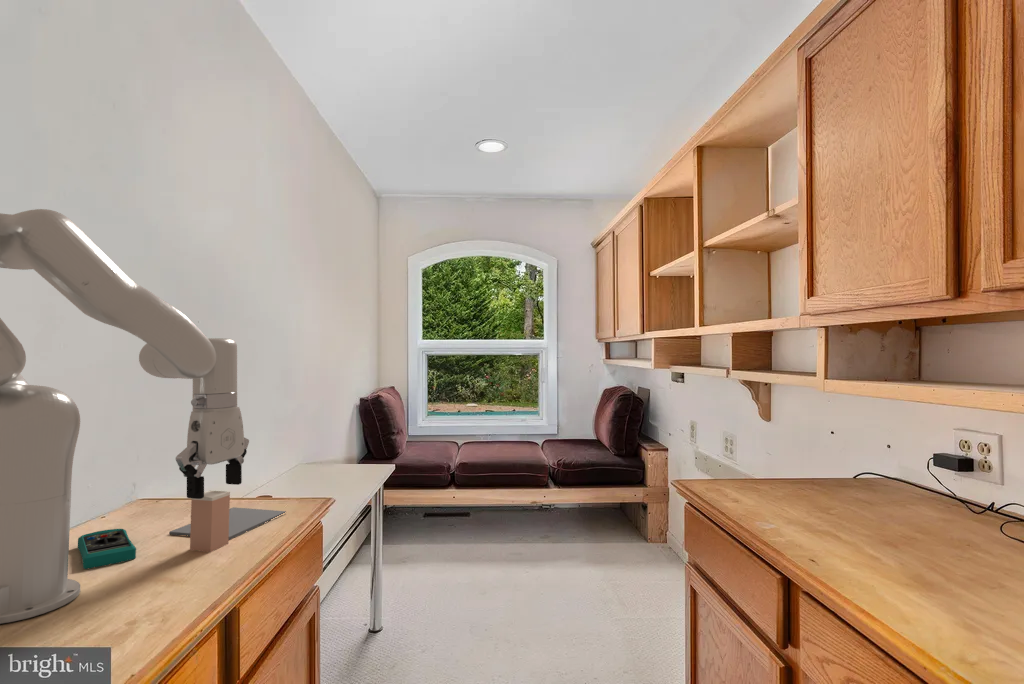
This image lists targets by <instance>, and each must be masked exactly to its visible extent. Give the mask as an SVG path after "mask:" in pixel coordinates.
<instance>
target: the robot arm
mask: <svg viewBox="0 0 1024 684" xmlns="http://www.w3.org/2000/svg"><path fill="white" fill-rule="evenodd" d="M0 269H9V270H21V271H25V270H27V271H28V270H33V271H35V272H36V273H37V274H38V275H40V277H42V279H44V280H45V281H46V282H48V284H50V285H51V286H52V287H53V288H55V290H57V291H58V292H59V293H60V294H61V295H62V296H63V297H65V298H66V299H67V300H68V301H69V302H70V303H71V304H73V305H74V306H75V307H76V308H77V309H78V310H79V311H80V312H82V314H84V315H85V316H88V317H90V318H92V319H94V320H96V321H98V322H101V323H103V324H104V325H105V324H106V325H109V326H111V327H114V328H118V329H120V330H123V331H125V332H128V333H130V334H131V335H133V336H135V337H137V338H138V339H140V340H142V341H143V342H144V343H145V344H144V345H143V346H142V348H141V349H140V352H139V354H138V362H139V364H140V366H141V368H142V369H143V370H144V371H145V372H146V373H147V374H149V375H150V376H154V377H155V378H156V377H157V378H161V379H181V380H182V379H186V380H192V398H191V399H192V400H191V401H190V404H191V406H192V410H191V411H190V415H189V422H188V429H187V436H186V437H187V438H186V439H187V440H186V447H185V448H183V450H182V451H181V452H180V453H179V454H177V455H176V456H175V461H176V463H177V466H178V467H179V469H178V470H179V471H180V473H182V474H183V477H184V478H186V498H187V499H192V498H194V499H201V498H203V497H204V492H205V476H204V475H203V473H204V471H205V469H206V467H207V466H208V465H216V464H220V463H224V462H227V463H225V484H226V485H241V484H242V482H243V481H242V480H243V479H242V471H243V470H242V467H243V465H242V464H244V461H245V456H246V455H247V449H248V446H249V443H250V440H249V439H248V438H247V437H245V435H244V433H245V432H244V424H243V423H244V422H243V417H242V411H241V408H240V406H238V345H237V342H236V341H235V340H233V339H231V338H216V337H215V338H213V337H212V338H210V337H209V338H208V337H207V335H205V334H204V333H203V331H202V330H201V329H200V328H199V327H198V325H197V326H196V324H195V323H194V322H193V321H192V320H190V319H189V318H188V317H187V316H186V315H185V314H184V313H183V312H181V311H180V310H179V309H178V308H176V307H174V305H172V304H170V303H168V302H167V301H165V300H164V299H162V298H160V297H159V296H158V295H156V294H154V293H153V292H152V291H150V290H148V289H146V288H145V287H143V286H141V285H139V284H138V283H136V282H135V281H134V280H133V279H132V278H131V277H130V276H129V275H127V274H126V272H125V271H123V270H122V268H121V267H120V266H118V264H116V263H115V261H113V259H111V258H110V256H108V255H107V254H106V253H105V252H104V251H103V250H102V249H101V248H100V247H99V246H98V245H97V244H96V243H95V242H94V241H93V240H92V239H91V238H90V237H89V236H88V235H87V234H86V233H85V232H84V230H82V229H81V228H80V227H79V226H78V225H77V224H76V223H75V222H73V221H72V220H71V219H70V218H69V217H67V216H66V215H64V214H63V213H61V212H58V211H55V210H51V209H45V208H38V209H37V208H35V209H29V210H25V211H21V212H17V213H13V214H8V213H2V212H0ZM26 361H27V356H26V351H25V348H24V346H23V344H22V343H21V341H20V340H19V339H18V338H17V336H16V335H15V334H14V333H13V332H12V330H11V329H10V328H9V327H8V325H7V324H6V323H5V322H4V320H3V319H2V318H1V317H0V625H1V624H7V623H13V622H17V621H22V620H26V619H30V618H31V619H32V618H33V617H37V616H39V615H44V614H46V613H49V612H51V611H54V610H57V609H58V608H61V607H64V606H65V605H67V604H69V603H71V602H72V601H73V600H75V599H76V598H77V597H78V596H79V595H80V593H81V583H80V582H79V581H78V580H75V579H71V578H68V577H69V576H68V574H69V555H70V554H69V552H70V550H69V549H70V546H69V545H70V530H71V529H70V527H71V526H70V525H71V509H72V508H71V503H72V502H71V501H72V478H73V463H74V456H75V451H76V445H77V442H78V437H79V434H80V430H81V429H80V428H81V414H80V410H79V408H78V405H77V404H76V402H75V401H74V400H73V399H72V398H71V396H69V395H68V394H66V393H65V392H64V391H61V390H59V389H58V388H53V387H49V386H44V385H34V384H29V383H28V382H27V381H26V379H25V378H24V377H23V375H22V374H21V373H22V372H23V370H24V368H25V366H26ZM196 466H197V467H196Z"/></svg>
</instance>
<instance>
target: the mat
mask: <svg viewBox="0 0 1024 684" xmlns="http://www.w3.org/2000/svg"><path fill="white" fill-rule="evenodd" d="M285 512H286V513H287V511H286V510H285V511H284V510H274V509H260V508H248V507H235V506H234V507H229V539H228V541H230V540H232V538H233V539H234V537H235V538H237V537H239V536H241V535H243V534H245V532H246V531H248V532H249V530H250V531H252V530H254V529H256V528H258V527H257V526H259V525H261V524H263V523H265V522H267V521H269V520H271V519H273V518H275V517H277V516H279V515H281V514H283V513H285ZM267 523H268V522H267ZM265 524H266V523H265ZM263 525H264V524H263ZM261 526H262V525H261ZM255 527H256V528H255ZM259 527H260V526H259ZM253 528H254V529H253ZM251 529H252V530H251ZM190 531H191V523H188V524H186V525H184V526H183V525H182V526H181V527H178V528H176V529H175V528H174V529H171V530H170V531H169V534H172V535H171V536H179V535H186V536H185V537H190ZM246 533H247V532H246ZM187 535H188V536H187Z"/></svg>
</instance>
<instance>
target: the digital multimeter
mask: <svg viewBox="0 0 1024 684" xmlns="http://www.w3.org/2000/svg"><path fill="white" fill-rule="evenodd" d="M77 549H78V551H79V553H80V556H81V558H82V559H81V561H82V569H84V570H87V569H88V568H89V569H93V568H94V567H95V568H99V567H105V565H106V566H109V564H111V565H115V564H120V563H124V562H128V561H132V560H134V559H136V558H137V548H136V546H135V545H134V543H132V541H131V539H130V538H129V536H128V533H127V530H126V529H124V528H113V529H111V528H110V529H104V530H99V531H97V530H96V531H93V532H90V533H86V534H85V533H84V534H82V535H81V536H79V537H78V539H77ZM119 562H120V563H119ZM89 569H88V570H89Z"/></svg>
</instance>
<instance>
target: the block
mask: <svg viewBox="0 0 1024 684" xmlns="http://www.w3.org/2000/svg"><path fill="white" fill-rule="evenodd" d="M230 499H231V491H225V490H224V491H222V490H221V491H220V490H207V491H204V497H203V498H201V499H194V498H191V504H190V505H191V506H190V508H191V509H190V524H191V531H190V536H189V538H190V540H189V551H194V550H200V551H199V552H205V551H208V552H207V553H212V552H214V551H216V550H218V549H220V548H222V547H224V545H225V546H227V545H229V540H228V539H229V509H230V503H231V502H230V501H231V500H230ZM226 544H227V545H226ZM213 550H214V551H213Z"/></svg>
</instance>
